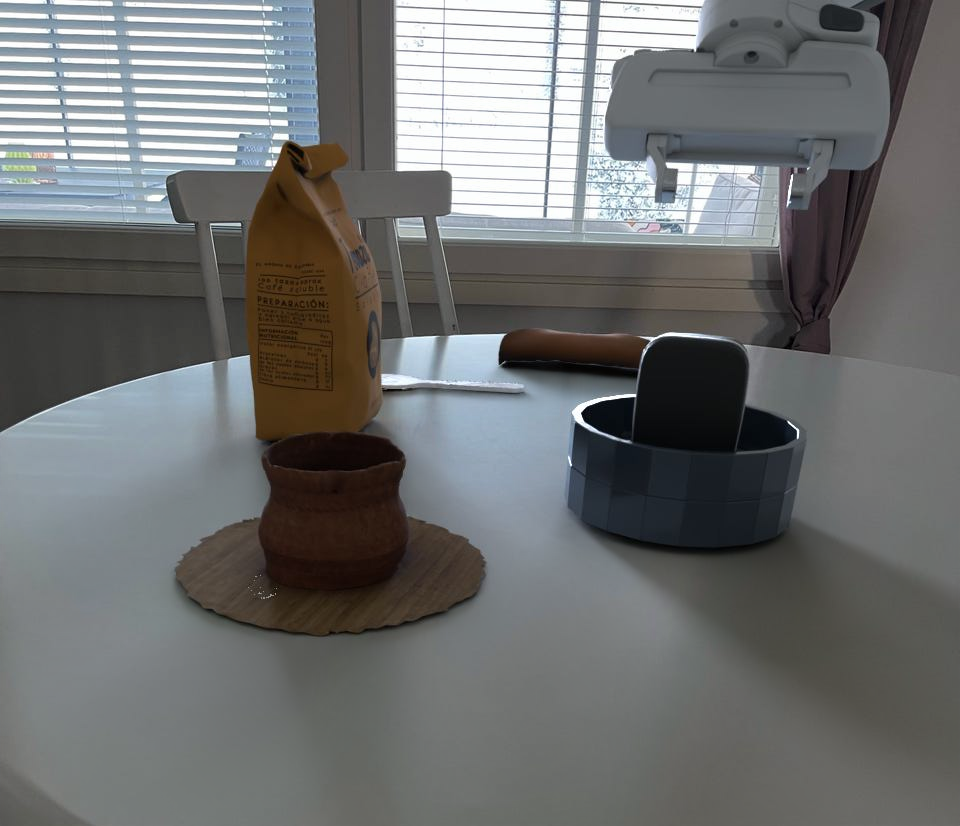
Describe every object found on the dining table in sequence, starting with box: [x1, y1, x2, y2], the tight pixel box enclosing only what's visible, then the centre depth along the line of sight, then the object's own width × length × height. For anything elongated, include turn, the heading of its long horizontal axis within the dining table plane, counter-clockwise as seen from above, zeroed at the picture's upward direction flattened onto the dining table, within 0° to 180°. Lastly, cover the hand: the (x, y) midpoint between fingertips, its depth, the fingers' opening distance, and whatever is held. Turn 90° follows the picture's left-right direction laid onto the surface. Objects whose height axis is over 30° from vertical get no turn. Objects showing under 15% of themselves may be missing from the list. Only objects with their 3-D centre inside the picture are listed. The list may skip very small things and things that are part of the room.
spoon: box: [381, 373, 525, 394], centre depth 96 cm, size 5×18×1 cm, turn 87°
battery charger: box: [632, 332, 751, 452], centre depth 62 cm, size 7×4×11 cm, turn 73°
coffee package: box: [245, 140, 384, 442], centre depth 75 cm, size 10×12×22 cm
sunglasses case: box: [497, 327, 651, 370], centre depth 107 cm, size 18×7×7 cm
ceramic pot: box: [173, 431, 488, 637], centre depth 53 cm, size 18×18×7 cm
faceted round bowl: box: [564, 394, 808, 548], centre depth 63 cm, size 15×15×6 cm
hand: (730, 200), depth 67 cm, fingers open, 8 cm apart
